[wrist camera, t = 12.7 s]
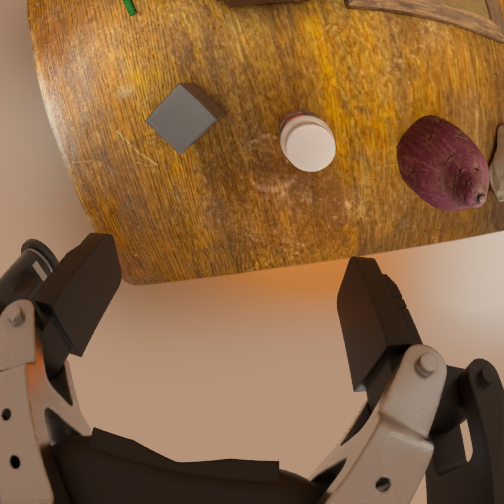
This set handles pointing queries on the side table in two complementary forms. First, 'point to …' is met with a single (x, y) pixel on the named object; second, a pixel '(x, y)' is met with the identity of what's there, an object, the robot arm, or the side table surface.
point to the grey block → (184, 116)
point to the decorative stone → (498, 166)
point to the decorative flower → (129, 7)
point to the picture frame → (446, 13)
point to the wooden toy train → (252, 2)
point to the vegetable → (443, 165)
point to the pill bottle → (306, 140)
